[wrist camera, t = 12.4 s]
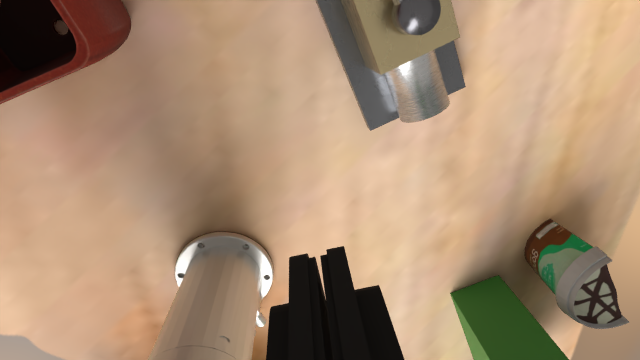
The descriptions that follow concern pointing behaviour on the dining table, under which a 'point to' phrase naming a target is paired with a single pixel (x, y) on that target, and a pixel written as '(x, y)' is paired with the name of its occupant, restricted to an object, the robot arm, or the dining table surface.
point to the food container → (575, 275)
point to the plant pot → (55, 40)
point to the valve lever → (415, 15)
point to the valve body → (394, 60)
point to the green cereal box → (501, 324)
